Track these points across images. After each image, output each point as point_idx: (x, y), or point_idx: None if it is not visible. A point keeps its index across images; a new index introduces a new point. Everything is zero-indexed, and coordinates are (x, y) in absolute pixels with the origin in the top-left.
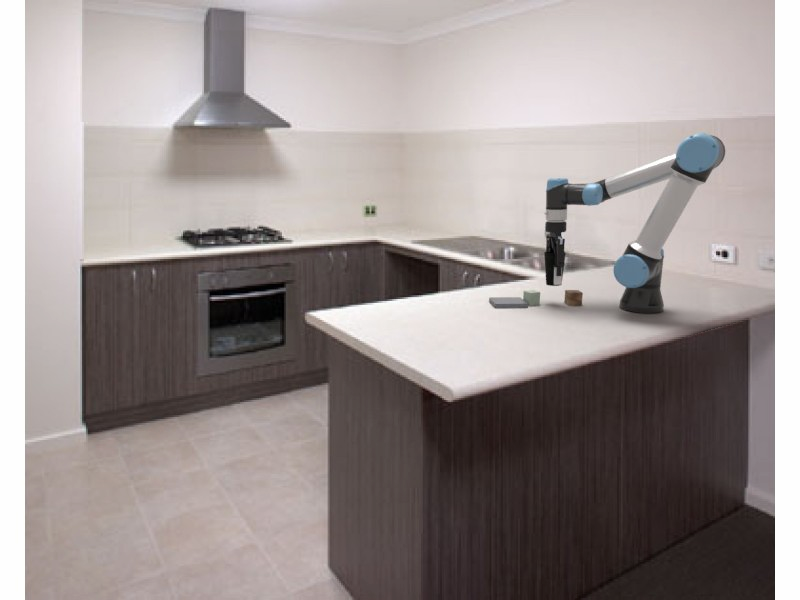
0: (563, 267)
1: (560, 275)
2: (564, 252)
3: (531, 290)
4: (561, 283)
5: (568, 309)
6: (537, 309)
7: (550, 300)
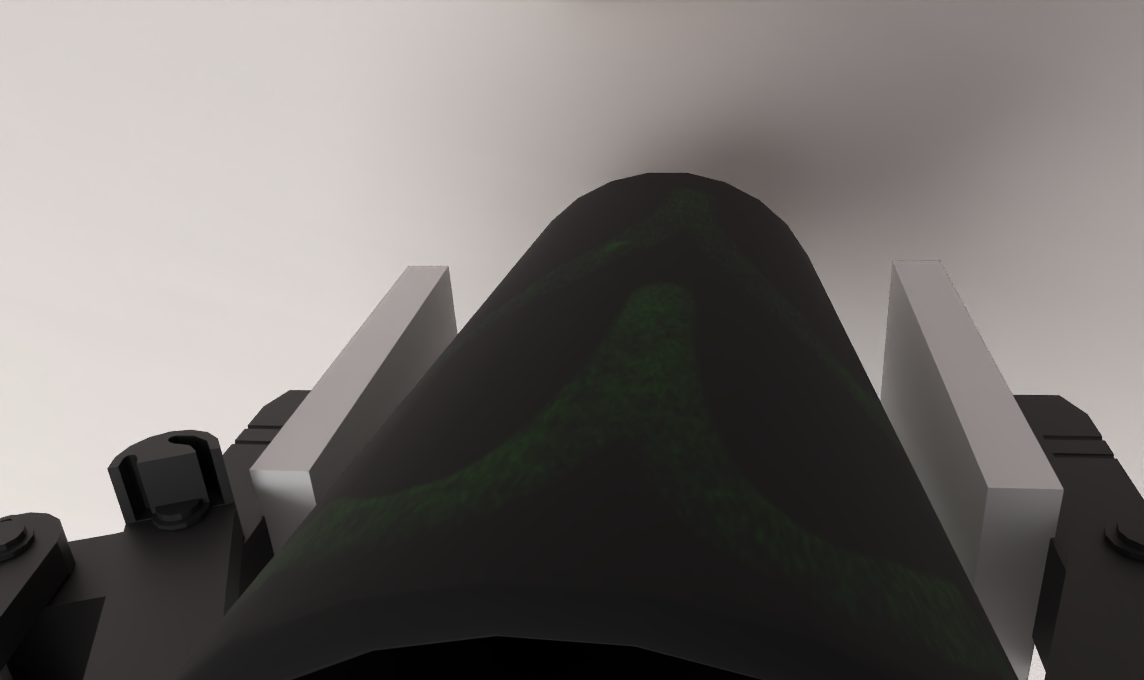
0: (794, 339)
1: (1066, 417)
2: (602, 643)
3: None
4: (943, 271)
5: (1020, 47)
6: None
7: (402, 153)
